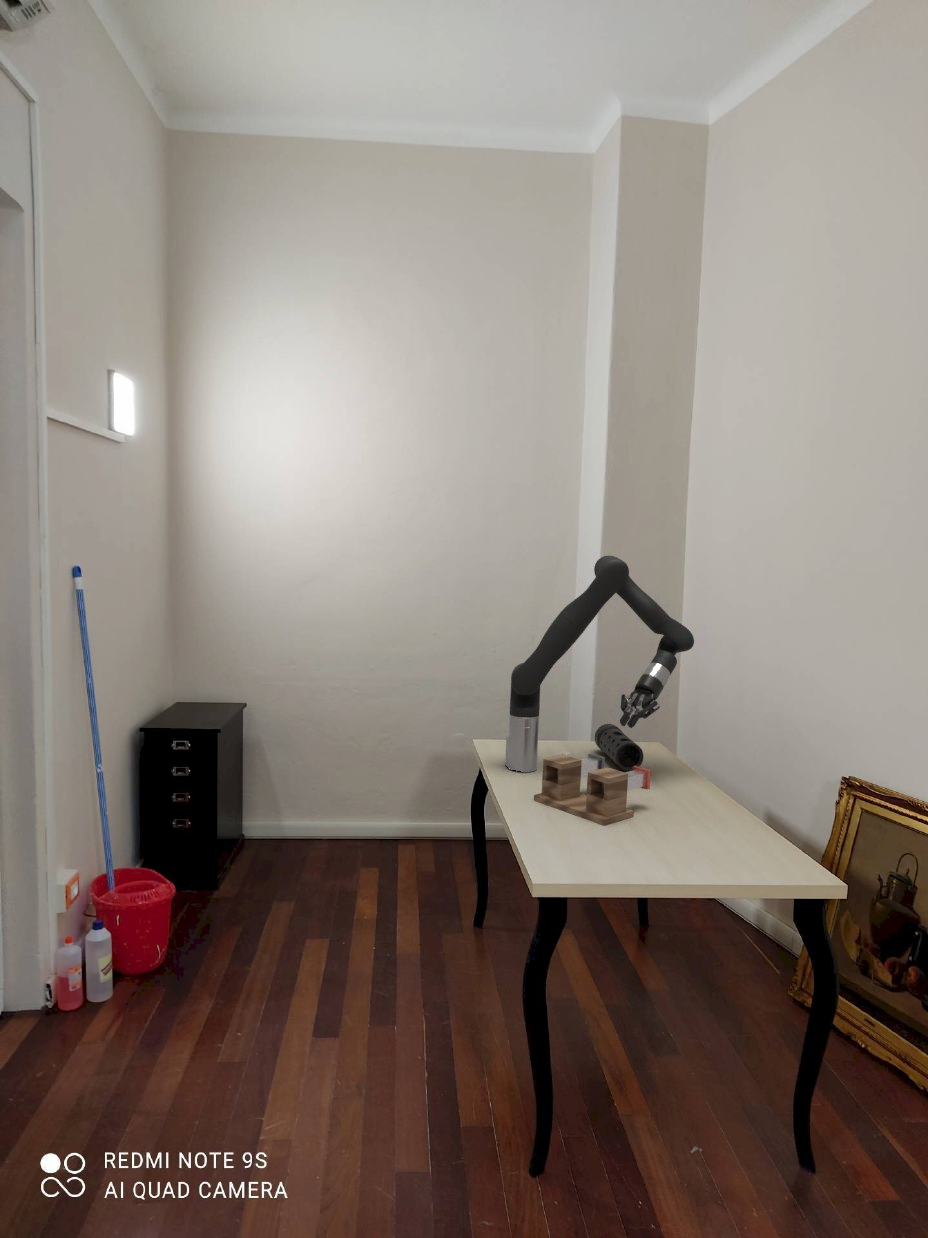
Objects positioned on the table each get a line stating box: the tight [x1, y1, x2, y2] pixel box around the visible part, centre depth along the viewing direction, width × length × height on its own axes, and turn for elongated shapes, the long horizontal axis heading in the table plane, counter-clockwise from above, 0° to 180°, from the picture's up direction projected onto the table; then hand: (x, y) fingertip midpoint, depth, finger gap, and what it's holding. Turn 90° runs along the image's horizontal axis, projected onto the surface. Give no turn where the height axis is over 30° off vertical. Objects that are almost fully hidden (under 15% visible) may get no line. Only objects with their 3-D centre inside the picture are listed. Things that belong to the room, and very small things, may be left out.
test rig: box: [533, 754, 635, 826], centre depth 228 cm, size 25×12×12 cm, turn 41°
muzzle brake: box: [594, 723, 644, 772], centre depth 277 cm, size 10×28×10 cm, turn 5°
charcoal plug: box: [557, 753, 606, 778], centre depth 239 cm, size 5×15×5 cm, turn 131°
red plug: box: [602, 766, 652, 792], centre depth 227 cm, size 5×15×5 cm, turn 131°
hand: (625, 725), depth 251 cm, fingers closed
